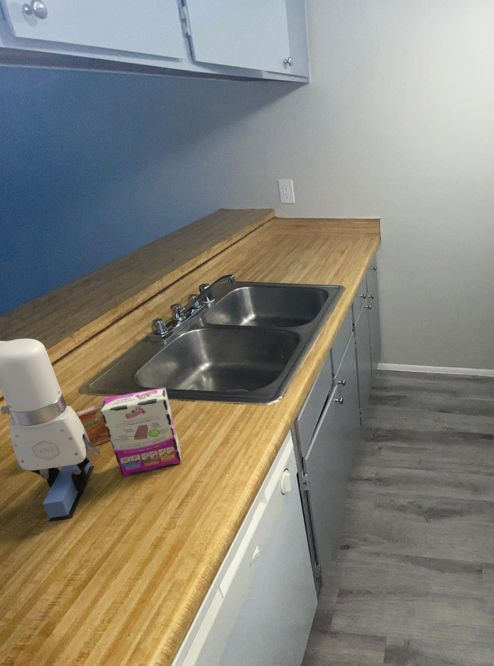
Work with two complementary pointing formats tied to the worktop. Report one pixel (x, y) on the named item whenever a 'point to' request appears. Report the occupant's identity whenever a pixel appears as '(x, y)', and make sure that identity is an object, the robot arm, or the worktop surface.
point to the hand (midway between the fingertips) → (70, 487)
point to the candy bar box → (141, 431)
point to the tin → (94, 424)
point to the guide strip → (75, 499)
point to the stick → (62, 493)
